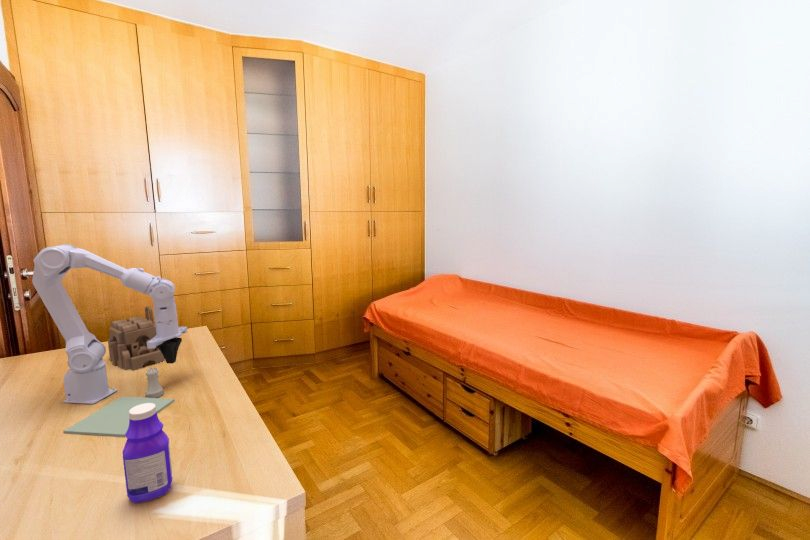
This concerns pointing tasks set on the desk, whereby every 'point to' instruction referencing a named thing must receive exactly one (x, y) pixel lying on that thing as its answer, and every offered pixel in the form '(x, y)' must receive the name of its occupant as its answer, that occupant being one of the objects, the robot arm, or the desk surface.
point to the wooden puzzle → (133, 342)
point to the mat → (114, 417)
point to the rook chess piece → (153, 384)
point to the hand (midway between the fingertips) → (171, 362)
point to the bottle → (146, 455)
